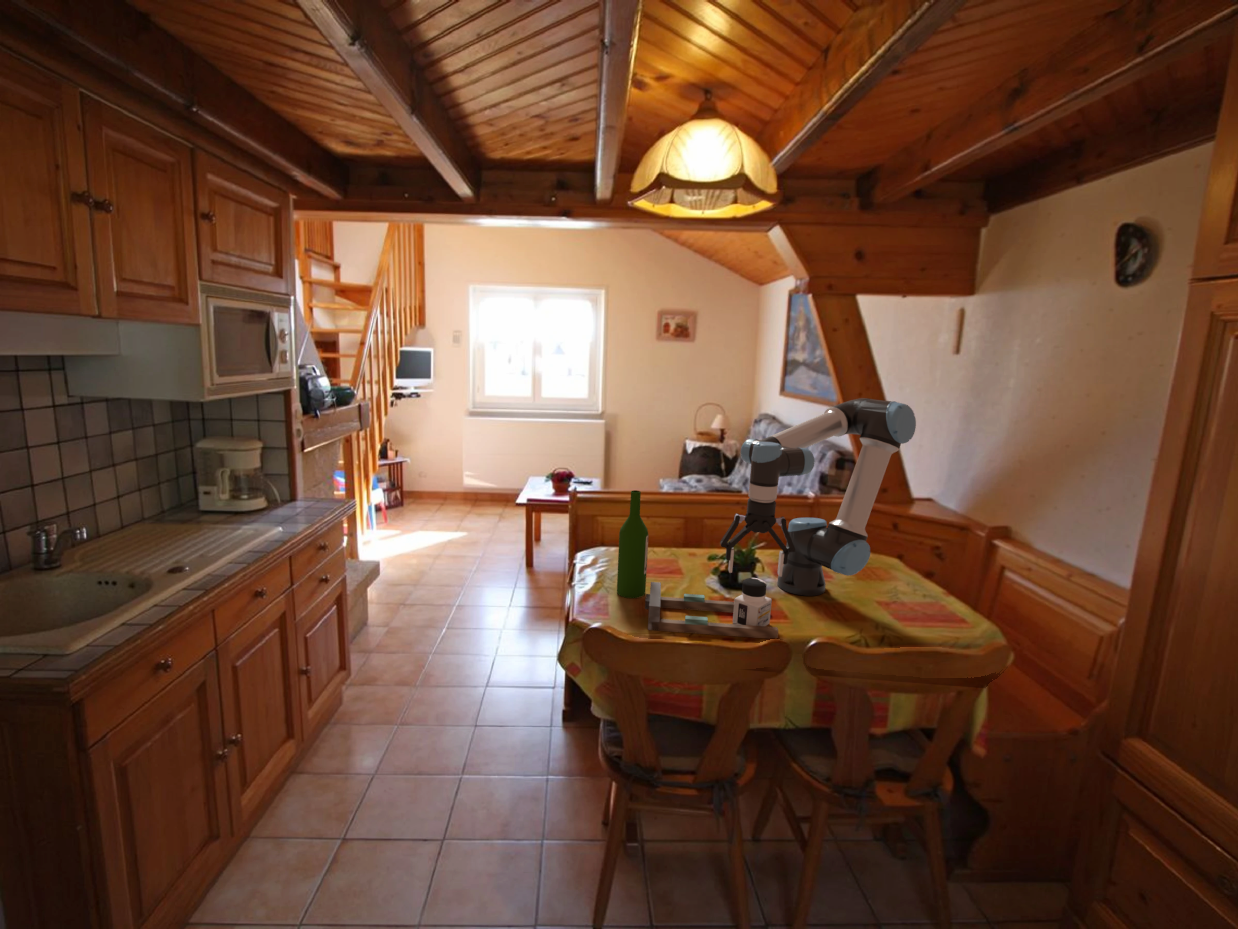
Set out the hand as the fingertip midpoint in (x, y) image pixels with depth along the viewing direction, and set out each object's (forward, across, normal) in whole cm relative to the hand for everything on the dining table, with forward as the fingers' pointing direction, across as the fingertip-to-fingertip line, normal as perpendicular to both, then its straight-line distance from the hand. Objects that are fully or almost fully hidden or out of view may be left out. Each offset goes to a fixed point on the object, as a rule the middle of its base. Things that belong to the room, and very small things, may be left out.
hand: (754, 573), depth 175 cm
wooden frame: (+15, +12, 0) cm, 19 cm away
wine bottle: (+16, +35, -16) cm, 41 cm away
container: (+16, 0, 0) cm, 16 cm away
